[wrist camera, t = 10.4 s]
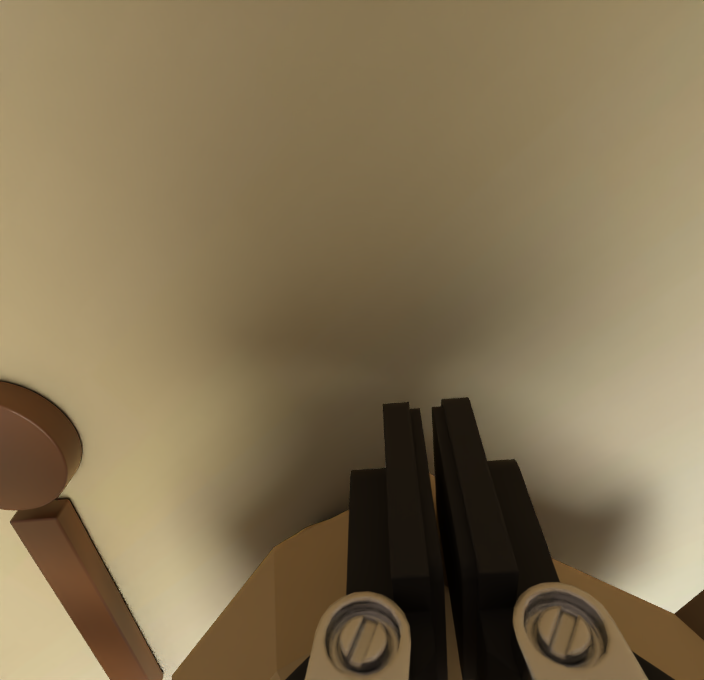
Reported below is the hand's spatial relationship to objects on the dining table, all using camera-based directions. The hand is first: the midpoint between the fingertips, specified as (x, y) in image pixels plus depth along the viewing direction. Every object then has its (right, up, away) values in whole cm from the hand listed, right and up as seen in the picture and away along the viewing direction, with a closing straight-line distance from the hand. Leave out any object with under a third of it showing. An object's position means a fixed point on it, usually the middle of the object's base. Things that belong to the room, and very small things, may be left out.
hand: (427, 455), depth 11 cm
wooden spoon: (-11, -4, +6) cm, 13 cm away
